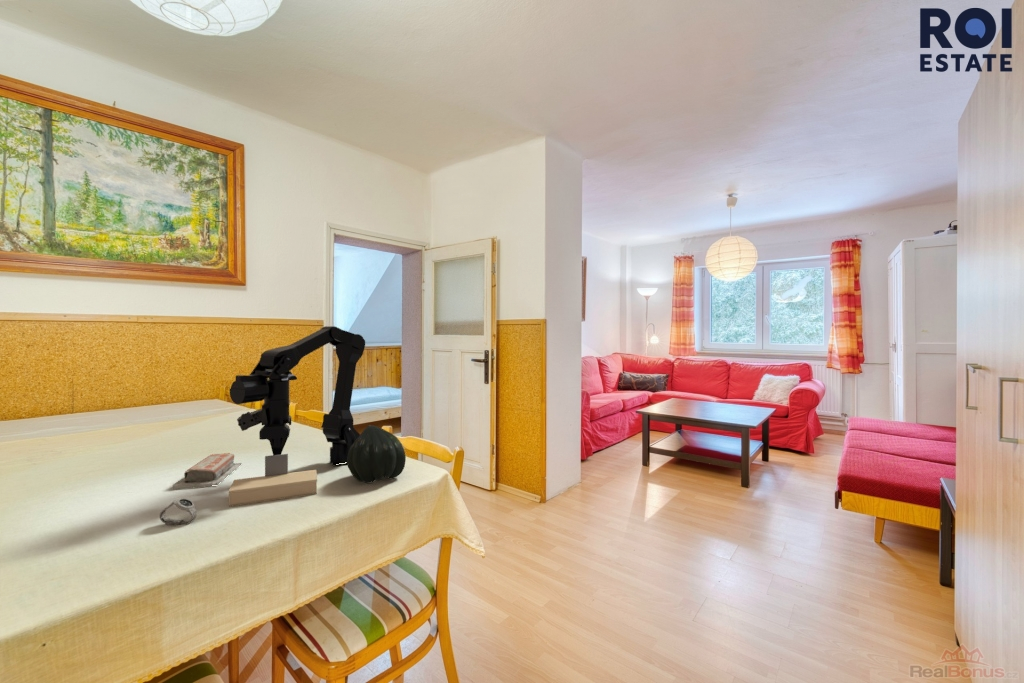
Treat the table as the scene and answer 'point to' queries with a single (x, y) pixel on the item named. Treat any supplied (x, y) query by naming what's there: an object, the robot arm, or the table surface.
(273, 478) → the lid
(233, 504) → the cardboard box
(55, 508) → the table surface
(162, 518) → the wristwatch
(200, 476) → the packaged product
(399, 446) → the squash
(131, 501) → the table surface
